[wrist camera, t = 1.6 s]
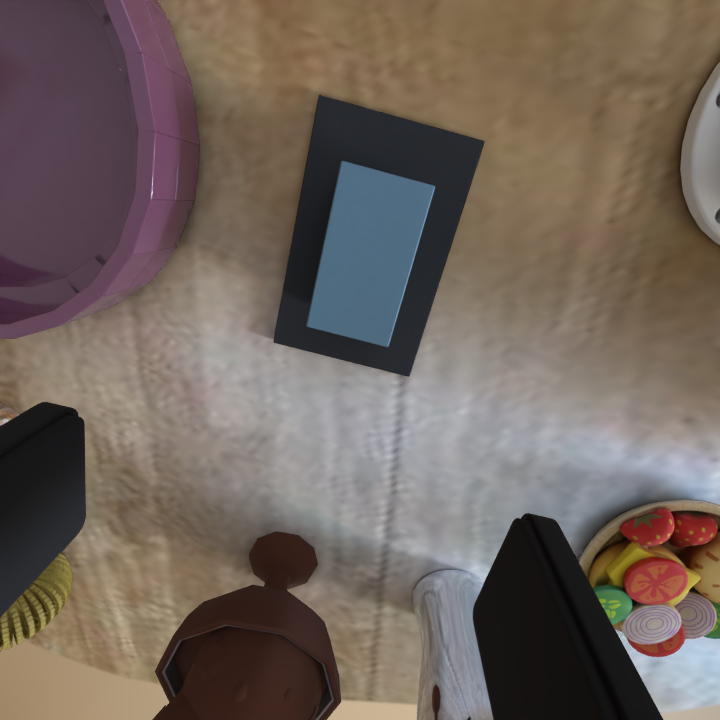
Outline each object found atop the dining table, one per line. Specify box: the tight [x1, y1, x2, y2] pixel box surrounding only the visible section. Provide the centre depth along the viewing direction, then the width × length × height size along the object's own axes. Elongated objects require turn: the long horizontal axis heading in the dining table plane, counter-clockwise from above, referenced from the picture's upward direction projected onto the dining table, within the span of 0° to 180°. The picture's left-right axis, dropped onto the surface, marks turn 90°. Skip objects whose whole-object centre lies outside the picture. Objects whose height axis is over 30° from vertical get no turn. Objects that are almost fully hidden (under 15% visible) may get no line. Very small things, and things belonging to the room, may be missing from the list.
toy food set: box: [579, 500, 720, 657], centre depth 30 cm, size 13×13×3 cm
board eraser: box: [307, 161, 435, 347], centre depth 22 cm, size 8×4×4 cm, turn 166°
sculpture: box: [0, 553, 73, 651], centre depth 31 cm, size 8×4×8 cm, turn 79°
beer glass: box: [412, 569, 493, 720], centre depth 27 cm, size 7×7×15 cm
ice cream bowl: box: [153, 532, 341, 720], centre depth 26 cm, size 11×11×15 cm
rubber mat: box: [274, 95, 484, 376], centre depth 24 cm, size 14×9×1 cm, turn 166°
